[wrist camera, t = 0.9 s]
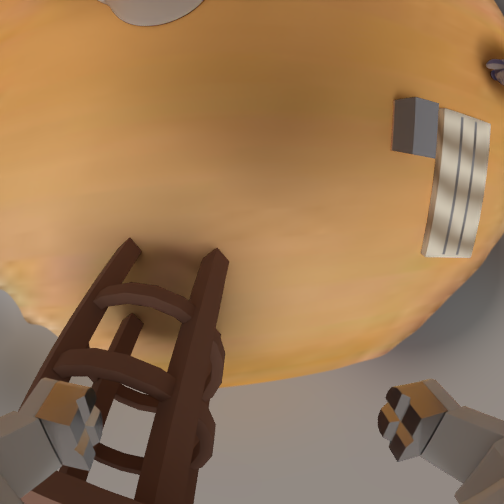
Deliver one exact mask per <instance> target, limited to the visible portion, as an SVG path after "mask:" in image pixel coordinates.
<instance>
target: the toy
mask: <svg viewBox="0 0 504 504" xmlns="http://www.w3.org/2000/svg"><path fill="white" fill-rule="evenodd" d="M486 67H487V68H489V69H495V70H492V71H491V77H492V78H493V79H494V80H498V81H499V82H500V83H501V84H502V85H503V86H504V59H502V60H500V59H492V60H489V61H488V62H487V63H486Z"/></svg>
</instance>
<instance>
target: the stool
mask: <svg viewBox="0 0 504 504" xmlns="http://www.w3.org/2000/svg"><path fill="white" fill-rule="evenodd" d="M140 253H141V250H140V249H139V247H138V246H137V245H136V244H135V243H134V242H133V241H132V239H131V238H129V239H128V240H127V241H126V242H124V243H123V244H122V245H121V246H120V247H119V248H118V249H117V251H116V252H115V253H114V255H113V256H112V258H111V259H110V260H109V262H108V263H107V264H106V266H105V267H104V269H103V270H102V272H101V273H100V274H99V276H98V277H97V279H96V280H95V282H94V283H93V284H92V286H91V287H90V289H89V290H88V292H87V293H86V295H85V296H84V298H83V299H82V301H81V302H80V304H79V305H78V307H77V308H76V310H75V312H74V313H73V315H72V316H71V318H70V319H69V321H68V323H67V324H66V326H65V327H64V329H63V331H62V332H61V334H60V336H59V337H58V339H57V341H56V342H55V344H54V346H53V347H52V349H51V351H50V352H49V354H48V356H47V358H46V360H45V361H44V363H43V365H42V367H41V368H40V370H39V372H38V374H37V376H36V378H35V380H34V381H33V383H32V385H31V387H30V389H29V391H28V393H27V395H26V397H25V399H24V401H23V403H22V405H21V407H22V406H23V404H24V403H25V401H26V400H27V398H28V397H29V395H30V394H31V393H32V391H33V390H34V388H35V387H36V385H37V384H38V383H39V381H40V380H41V379H43V378H45V377H46V378H49V379H53V380H57V381H63V382H68V383H69V380H70V378H71V376H88V377H89V378H90V379H91V380H92V381H93V385H92V387H91V388H92V389H94V391H95V394H96V397H97V400H96V403H95V406H96V407H97V408H98V409H99V410H100V412H101V415H102V421H103V427H104V424H105V421H106V418H107V416H108V413H109V410H110V407H111V405H112V402H113V399H115V400H117V401H118V402H121V403H123V404H126V405H128V406H130V407H133V408H136V409H138V410H143V411H148V412H154V413H156V414H155V418H154V422H153V426H152V429H151V433H150V437H149V440H148V444H147V448H146V452H145V456H144V457H139V456H134V455H130V454H125V453H122V452H120V451H117V450H115V449H112V448H110V447H107V446H105V445H103V444H101V443H100V442H99V443H97V444H96V445H94V446H93V448H94V451H95V453H96V454H95V457H94V460H96V461H98V462H100V463H103V464H105V465H108V466H110V467H113V468H116V469H118V470H121V471H125V472H129V473H134V474H138V475H140V477H139V481H138V485H137V489H136V494H135V498H134V500H133V499H130V498H127V497H124V496H122V495H119V494H116V493H113V492H110V491H108V490H105V489H102V488H100V487H97V486H95V485H92V484H90V483H87V482H86V479H87V476H88V473H89V471H87V470H82V469H78V468H74V467H70V466H66V465H62V464H61V465H62V467H60V470H59V471H55V472H54V473H53V474H51V475H50V476H49V477H48V478H46V479H45V480H44V481H43V482H41V483H40V484H39V485H37V486H36V487H35V488H34V489H32V490H31V491H30V492H28V493H27V494H26V495H24V496H23V497H22V498H20V499H21V500H22V501H23V502H24V504H193V503H194V496H195V489H196V483H197V477H198V470H199V468H201V467H203V466H204V465H205V463H206V462H207V461H208V460H209V459H210V458H211V457H212V453H213V444H214V435H215V422H214V420H213V417H212V415H211V413H210V411H209V401H210V398H212V397H213V396H214V394H215V392H216V391H217V389H218V388H219V386H220V384H221V383H222V376H223V367H224V359H225V351H224V347H223V344H222V341H221V334H220V333H219V332H218V331H217V329H216V323H217V318H218V313H219V308H220V303H221V298H222V293H223V288H224V284H225V279H226V274H227V269H228V264H229V261H228V260H227V258H226V257H225V256H224V255H223V254H222V253H221V251H220V250H219V249H218V248H216V249H215V250H213V251H212V252H211V253H209V254H208V255H207V256H205V257H204V258H203V260H202V263H201V266H200V269H199V272H198V275H197V278H196V281H195V284H194V287H193V290H192V293H191V296H190V299H189V301H188V300H187V299H185V298H184V297H182V296H180V295H178V294H175V293H173V292H171V291H168V290H166V289H164V288H161V287H159V286H155V285H147V284H140V283H133V282H130V283H124V284H122V282H123V281H124V279H125V277H126V276H127V274H128V272H129V271H130V269H131V267H132V266H133V264H134V263H135V261H136V259H137V258H138V256H139V255H140ZM121 304H133V305H140V306H146V307H152V308H154V309H156V310H159V311H161V312H163V313H166V314H168V315H171V316H173V317H175V318H176V319H177V320H179V321H180V322H181V323H182V325H181V328H180V331H179V334H178V338H177V341H176V344H175V348H174V351H173V354H172V358H171V361H170V364H169V368H168V371H167V372H165V371H164V370H162V369H161V368H159V367H156V366H154V365H151V364H149V363H146V362H144V361H141V360H139V359H136V358H134V357H132V356H130V355H131V353H132V350H133V348H134V345H135V343H136V341H137V338H138V336H139V333H140V331H141V329H142V326H143V323H142V322H141V321H140V320H139V319H138V318H137V317H136V316H135V315H134V314H133V313H131V314H130V315H129V316H128V317H126V318H125V319H124V320H122V322H121V324H120V327H119V329H118V331H117V333H116V335H115V337H114V339H113V341H112V343H111V345H110V347H109V350H108V351H107V350H102V349H98V348H90V347H89V341H90V339H91V337H92V335H93V333H94V332H95V330H96V328H97V326H98V324H99V322H100V321H101V319H102V317H103V315H104V313H105V312H106V310H107V308H108V306H114V305H121ZM122 384H124V385H126V386H129V387H131V388H133V389H136V390H139V391H141V392H143V393H146V394H142V393H139V392H137V391H134V390H132V389H130V388H127V387H125V386H124V385H122ZM147 394H149V395H147ZM21 407H20V409H21ZM20 409H19V410H20ZM18 412H19V411H18ZM102 430H103V429H102Z"/></svg>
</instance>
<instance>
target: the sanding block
mask: <svg viewBox="0 0 504 504" xmlns="http://www.w3.org/2000/svg"><path fill="white" fill-rule="evenodd" d="M438 111H439V103H436V102H432V101H429V100H425V99H421V98H418V97H412V98H404V99H398V100H393V123H392V139H391V150H392V151H398V152H403V153H409V154H414V155H420V156H425V157H430V158H435V157H436V146H437V132H438Z"/></svg>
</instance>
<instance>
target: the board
mask: <svg viewBox="0 0 504 504" xmlns="http://www.w3.org/2000/svg"><path fill="white" fill-rule="evenodd" d="M490 126H491V124H489V123H487V122H484V121H481V120H479V119H476V118H473V117H470V116H467V115H464V114H462V113H459V112H455V111H452V110H449V109H446V108H439V119H438V137H437V150H436V161H435V170H434V179H433V186H432V194H431V200H430V207H429V213H428V219H427V224H426V230H425V235H424V240H423V245H422V250H421V254H422V255H424V256H425V257H453V258H471V254H472V250H473V246H474V242H475V238H476V233H477V229H478V224H479V219H480V213H481V208H482V202H483V196H484V189H485V182H486V175H487V166H488V156H489V144H490Z"/></svg>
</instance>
